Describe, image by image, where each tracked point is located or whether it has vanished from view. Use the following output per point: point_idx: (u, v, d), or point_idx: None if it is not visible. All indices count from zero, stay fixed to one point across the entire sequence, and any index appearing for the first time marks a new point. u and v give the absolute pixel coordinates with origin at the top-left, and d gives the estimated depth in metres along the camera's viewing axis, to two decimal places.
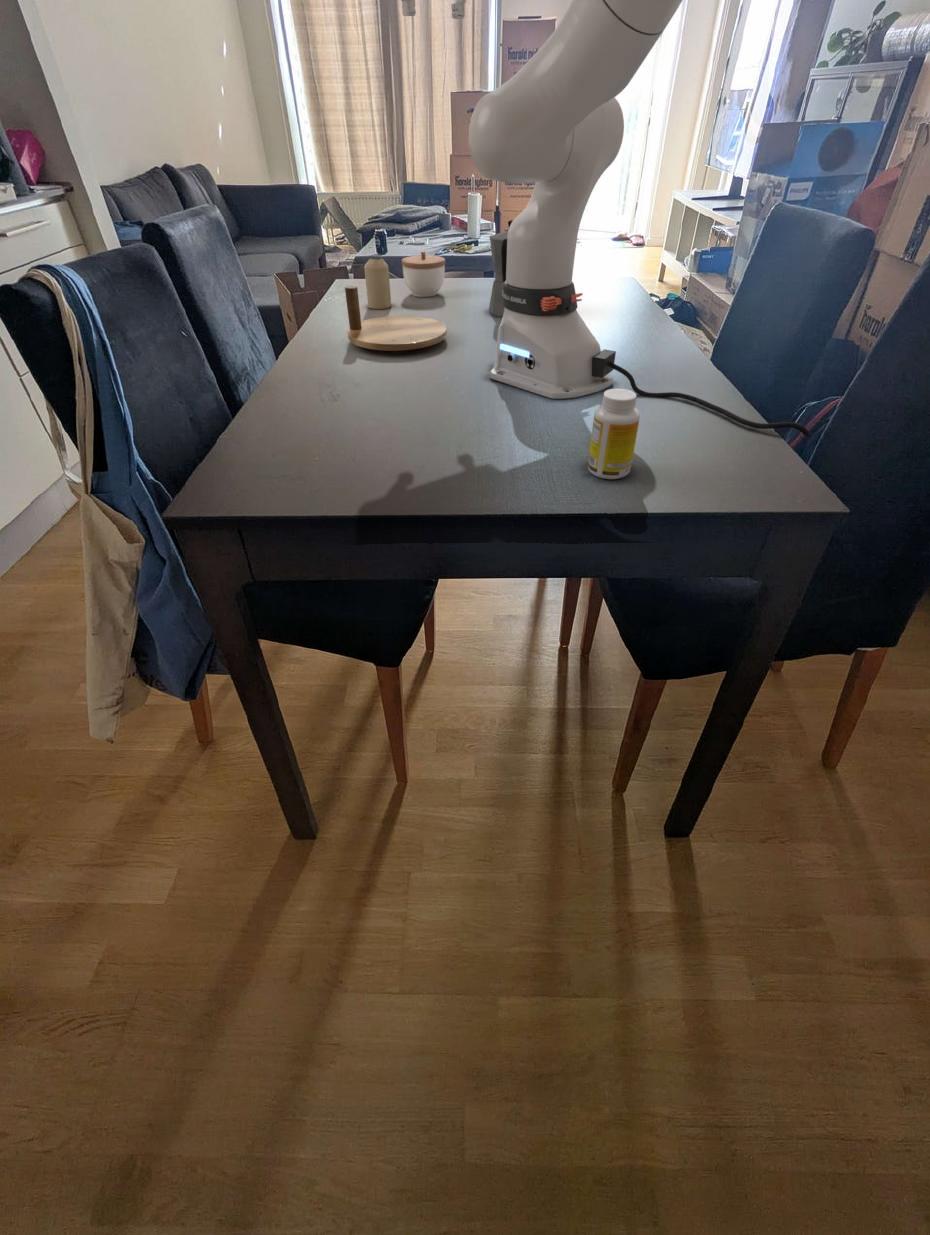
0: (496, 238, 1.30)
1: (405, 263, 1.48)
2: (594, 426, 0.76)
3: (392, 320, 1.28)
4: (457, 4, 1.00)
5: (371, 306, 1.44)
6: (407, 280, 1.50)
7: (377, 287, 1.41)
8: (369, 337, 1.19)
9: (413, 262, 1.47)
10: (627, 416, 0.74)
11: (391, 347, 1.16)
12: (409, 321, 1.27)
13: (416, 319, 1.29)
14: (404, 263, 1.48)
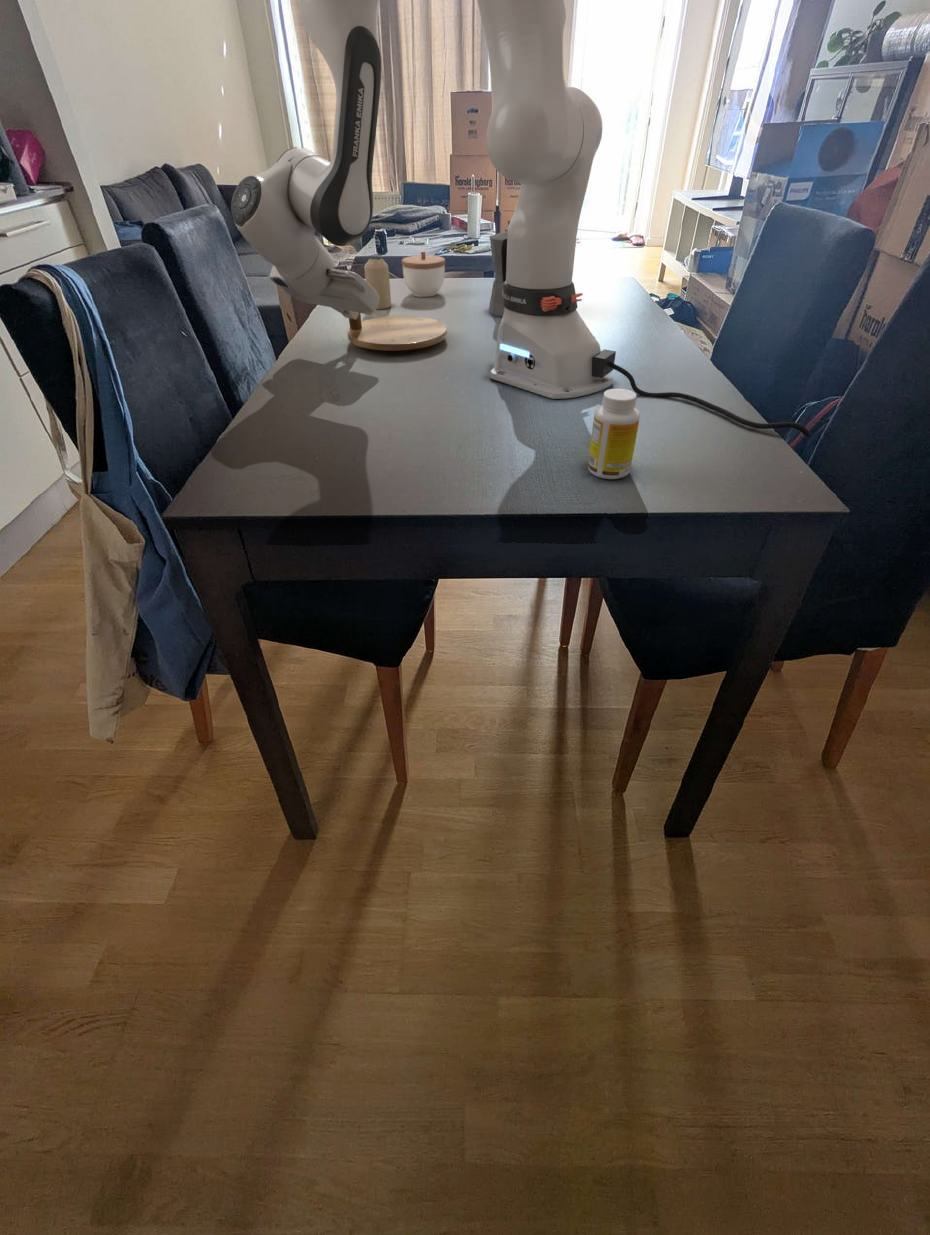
0: (496, 238, 1.30)
1: (405, 263, 1.48)
2: (594, 426, 0.76)
3: (393, 320, 1.28)
4: None
5: None
6: (407, 280, 1.50)
7: (377, 287, 1.41)
8: (369, 337, 1.19)
9: (413, 262, 1.47)
10: (627, 416, 0.74)
11: (390, 347, 1.16)
12: (410, 321, 1.27)
13: (417, 319, 1.29)
14: (404, 263, 1.48)
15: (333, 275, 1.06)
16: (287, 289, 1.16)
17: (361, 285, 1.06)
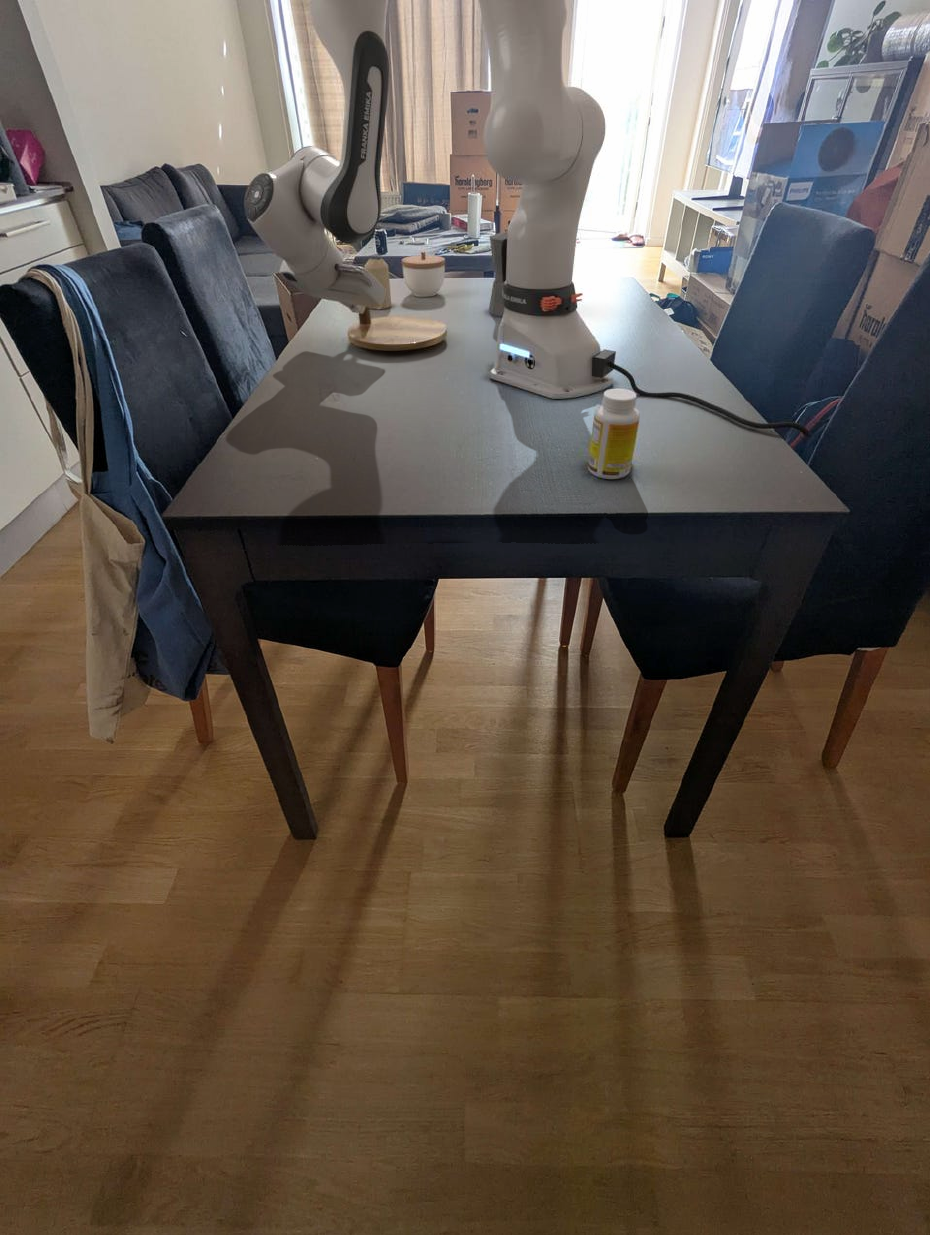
0: (496, 238, 1.30)
1: (405, 263, 1.48)
2: (594, 426, 0.76)
3: (408, 320, 1.28)
4: None
5: None
6: (407, 280, 1.50)
7: None
8: (360, 333, 1.21)
9: (413, 262, 1.47)
10: (627, 416, 0.74)
11: (366, 345, 1.17)
12: (420, 323, 1.26)
13: (430, 322, 1.27)
14: (404, 263, 1.48)
15: (341, 270, 1.09)
16: (296, 284, 1.19)
17: (369, 279, 1.09)
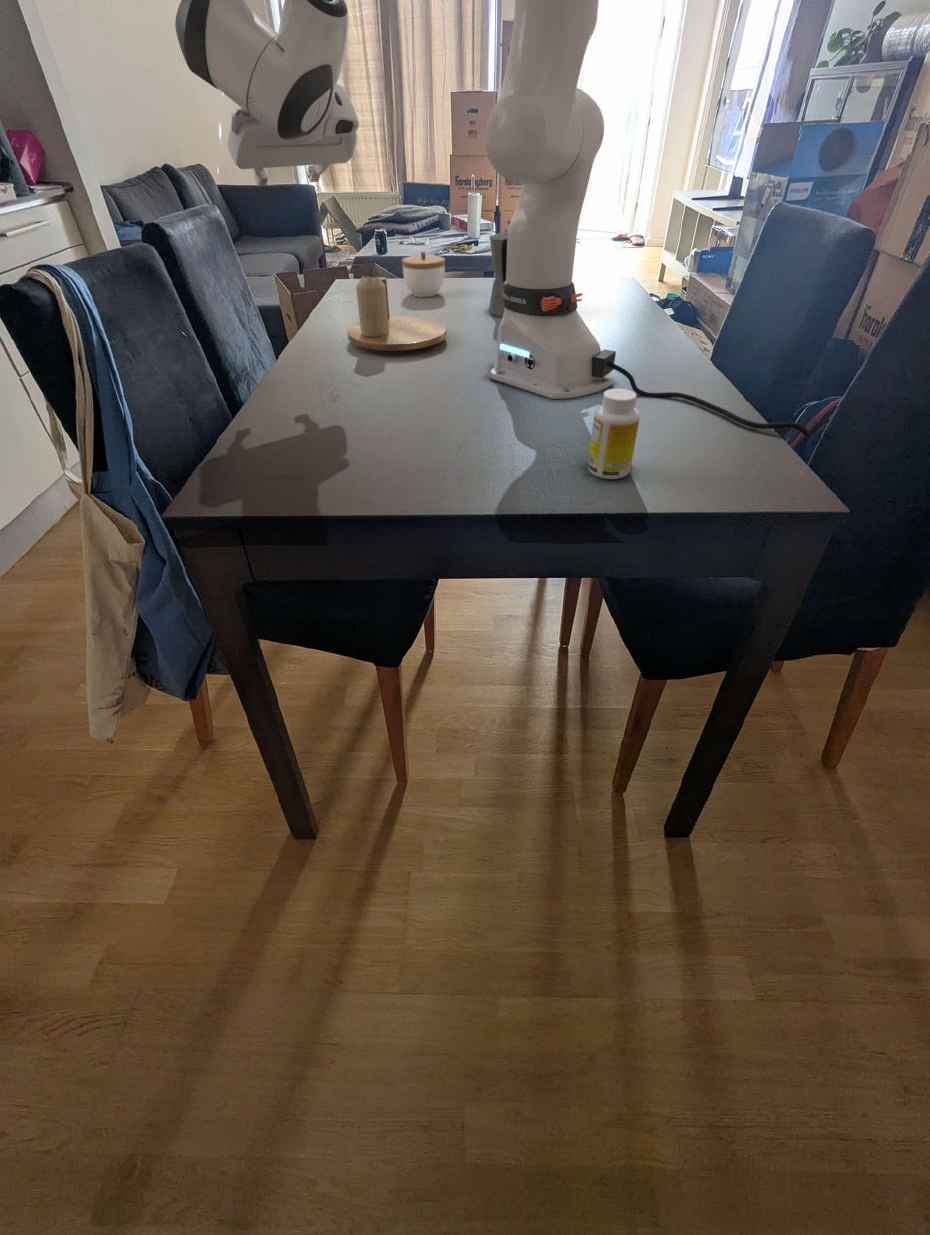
0: (496, 238, 1.30)
1: (405, 263, 1.48)
2: (594, 426, 0.76)
3: (421, 322, 1.27)
4: (312, 175, 1.04)
5: (365, 333, 1.19)
6: (407, 280, 1.50)
7: (372, 311, 1.16)
8: None
9: (413, 262, 1.47)
10: (627, 416, 0.74)
11: (350, 339, 1.20)
12: (426, 327, 1.24)
13: (435, 328, 1.24)
14: (404, 263, 1.48)
15: None
16: None
17: (231, 123, 0.90)
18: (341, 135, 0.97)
